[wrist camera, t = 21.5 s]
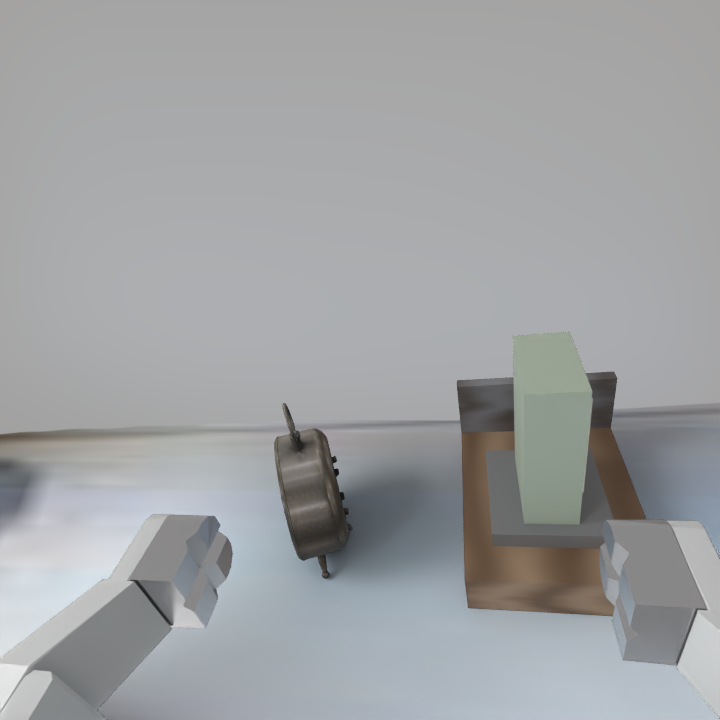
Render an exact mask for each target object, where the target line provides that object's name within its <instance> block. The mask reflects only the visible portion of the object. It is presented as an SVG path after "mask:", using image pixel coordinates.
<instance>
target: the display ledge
mask: <svg viewBox="0 0 720 720" xmlns="http://www.w3.org/2000/svg"><path fill="white" fill-rule="evenodd" d="M586 376H587V378H588V381H589V384H590V386H591V389H592V398H593V403H592V413H591V423H590V433H589V444H588V448H591V451H592V454H593V458H594V461H595V464H596V467H597V470H598V473H599V476H600V479H601V482H602V485H603V488H604V491H605V495H606V498H607V501H608V504H609V507H610V510H611V513H612V516H613V519H614V520H646V518H645V515H644V512H643V510H642V507H641V505H640V502H639V500H638V497H637V495H636V492H635V489H634V487H633V484H632V482H631V479H630V477H629V474H628V472H627V469H626V466H625V464H624V461H623V459H622V456H621V454H620V451H619V448H618V446H617V443H616V441H615V438H614V436H613V433H612V431H611V422H612V414H613V406H614V398H615V391H616V383H617V377H616V375H615V373H614V372H601V373H586ZM457 391H458V401H459V411H460V421H461V431H462V472H463V519H464V565H465V585H466V593H467V601H468V608H479V609H497V610H516V611H534V612H552V613H570V614H588V615H606V616H613V614H614V608H615V606H614V605H613V604H612V603H611V602H610V601H609V600H608V599H607V598H606V596H605V592H604V588H603V584H602V579H601V574H600V563H599V553H600V549H593V548H553V547H513V546H493V541H492V528H491V515H490V502H489V489H488V476H487V463H486V451H488V450H515V435H514V380H513V378H494V379H477V380H458V381H457Z"/></svg>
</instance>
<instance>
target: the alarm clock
mask: <svg viewBox="0 0 720 720" xmlns="http://www.w3.org/2000/svg"><path fill="white" fill-rule="evenodd" d="M282 407H283V411H284V415H285V418H286V422H287V426H288V428H289V431H290V434H288V435H284V436H280V437H277V438H276V440H275V443H274V450H275V461H276V468H277V475H278V481H279V487H280V493H281V500H282V503H283V507H284V512H285V516H286V520H287V524H288V528H289V532H290V535H291V539H292V542H293V545H294V548H295V550H296V553H297V555H298V557H299V559H301V560H303V561H304V560H306V559H309V558H313V557H316V556H318V560H319V564H320V566H321V569H322V571H323V573H322V577H323V578H325V579H326V578H328V577H329V572H328V571H327V564H326V557H325V554H327V553H331V552H335V551H339V550H341V549H343V548H344V547H345V545H346V543H347V541H348V537H349V531H348V529H349V530H352V529H353V528H352V526H351V525H350V524H348V523H347V521H346V516H345V515H348V514H349V509H348V508H343V505H342V500H343V499H344V498H345V497H344V493H343V492H339V487H338V483H337V479H336V477H337V476H338V475H339V471H338V469H334V466H333V463H335V462H336V461H337V459H336V456H334V457H331V453H330V449H329V445H328V441H327V438H326V436H325V435H324V433H323V432H322V431H320V430H318V429H309V430H304V431H300V432H299V431H296V430H295V426H294V423H293V420H292V417H291V414H290V412H289V409H288V407H287V406H286V404H284V403H283V404H282Z"/></svg>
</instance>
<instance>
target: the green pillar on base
mask: <svg viewBox="0 0 720 720" xmlns="http://www.w3.org/2000/svg"><path fill="white" fill-rule="evenodd" d="M513 380H514V435H515V450H488V451H486V463H487V476H488V489H489V502H490V515H491V528H492V541H493V546H513V547H553V548H593V549H600V546H601V545H603V544H604V543H605V540H604V537H603V533H602V529H603V523H604V522H605V520H614V519H613V516H612V513H611V510H610V507H609V504H608V501H607V498H606V495H605V491H604V488H603V485H602V482H601V479H600V476H599V473H598V470H597V467H596V464H595V461H594V458H593V454H592V451H591V448H588V444H589V433H590V423H591V413H592V403H593V398H592V389H591V386H590V384H589V381H588V378H587V376H586V373H585V371H584V368H583V365H582V363H581V360H580V357H579V355H578V352H577V349H576V347H575V344H574V341H573V339H572V336H571V334H570V332H560V333H547V334H534V335H533V334H532V335H519V336H513Z"/></svg>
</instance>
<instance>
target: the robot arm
mask: <svg viewBox="0 0 720 720" xmlns="http://www.w3.org/2000/svg"><path fill="white" fill-rule="evenodd" d="M219 527H220V524H219V522H218V520H217V519H216V517H215V516H199V515H174V514H152V515H151V516H150V517H149V518H147V519H146V520H145V522H144V523H143V525H142V526H141V528H140V529H139V531H138V533H137V534H136V536H135V537H134V539H133V541H132V542H131V544H130V545H129V547H128V549H127V550H126V552H125V553H124V555H123V556H122V558H121V560H120V561H119V563H118V564H117V566H116V568H115V569H114V571H113V572H112V574H111V576H110V577H109V579H102V580H101V581H100V582H98V583H97V584H96V585H95V586H93V587H92V588H91V589H89V590H88V591H87V592H85V593H84V594H83V595H82V596H80V597H79V598H78V599H76V600H75V601H74V602H72V603H71V604H70V605H69V606H67V607H66V608H65V609H63V610H62V611H61V612H59V613H58V614H57V615H56V616H54V617H53V618H52V619H50V620H49V621H48V622H47V623H45V624H44V625H43V626H41V627H40V628H39V629H37V630H36V631H35V632H34V633H32V634H31V635H30V636H28V637H27V638H26V639H24V640H23V641H22V642H21V643H19V644H18V645H17V646H15V647H14V648H13V649H11V650H10V651H9V652H8V653H6V654H5V655H4V656H2V657H1V658H0V720H107V719H106V718H105V717H104V716H103V715H101V714H100V713H99V712H98V711H97V710H98V708H99V707H100V706H101V705H102V704H103V703H104V702H105V701H106V700H107V699H108V698H109V697H110V696H111V694H112V693H113V692H114V691H115V690H116V689H117V688H118V687H119V686H120V685H121V684H122V683H123V681H124V680H125V679H126V678H127V677H128V676H129V675H130V674H131V673H132V672H133V671H134V670H135V668H136V667H137V666H138V665H139V664H140V663H141V662H142V661H143V660H144V659H145V658H146V657H147V656H148V654H149V653H150V652H151V651H152V650H153V649H154V648H155V647H156V646H157V645H158V644H159V643H160V641H161V640H162V639H163V638H164V637H165V636H166V635H167V634H168V633H169V632H170V631H171V630H172V628H171V627H186V628H206V627H207V624H208V622H209V619H210V617H211V615H212V612H213V610H214V607H215V605H216V603H217V600H218V595H217V591H216V588H217V587H218V586H219V585H220V584H221V583H223V582H224V581H225V580H226V578H227V576H228V573H229V570H230V568H231V562H232V554H233V553H232V548H231V543H230V542H229V540H228V538H227V537H226V536H225V535H223V534H222V533H220V532H219V531H218V529H219ZM602 533H603V537H604V540H605V543H604V544H603V545H601V546H600V553H599V563H600V574H601V579H602V584H603V588H604V592H605V596H606V598H607V599H608V600H609V601H610V602H611V603H612V604H613V605H614V606H615V608H614V614H613V620H612V622H613V626H614V630H615V633H616V637H617V641H618V644H619V648H620V652H621V655H622V659H623V660H627V661H637V662H647V663H657V664H667V665H677V669H678V670H679V671H680V673H681V674H682V675H683V676H684V677H685V679H686V680H687V681H688V682H689V683H690V684H691V686H692V687H693V688H694V689H695V690H696V691H697V693H698V694H699V695H700V696H701V697H702V698H703V700H704V701H705V702H706V703H707V704H708V705H709V707H710V708H711V709H712V710H713V711H714V712H715V714H716V715H717V716H718V717H719V718H720V557H719V555H718V553H717V552H716V550H715V548H714V546H713V544H712V542H711V540H710V538H709V536H708V534H707V532H706V530H705V528H704V526H703V525H702V524H701V523H700V522H699V521H694V520H686V521H664V520H605V522H604V523H603V529H602Z"/></svg>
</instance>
